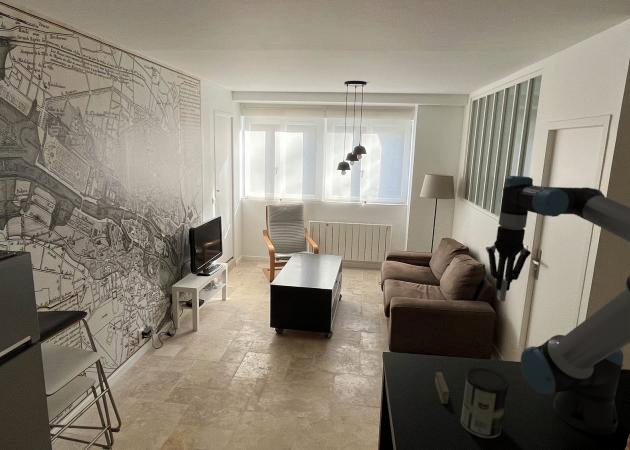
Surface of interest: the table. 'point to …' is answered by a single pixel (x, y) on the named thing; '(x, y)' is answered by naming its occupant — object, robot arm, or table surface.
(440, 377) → the chute
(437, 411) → the table surface
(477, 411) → the coffee can
